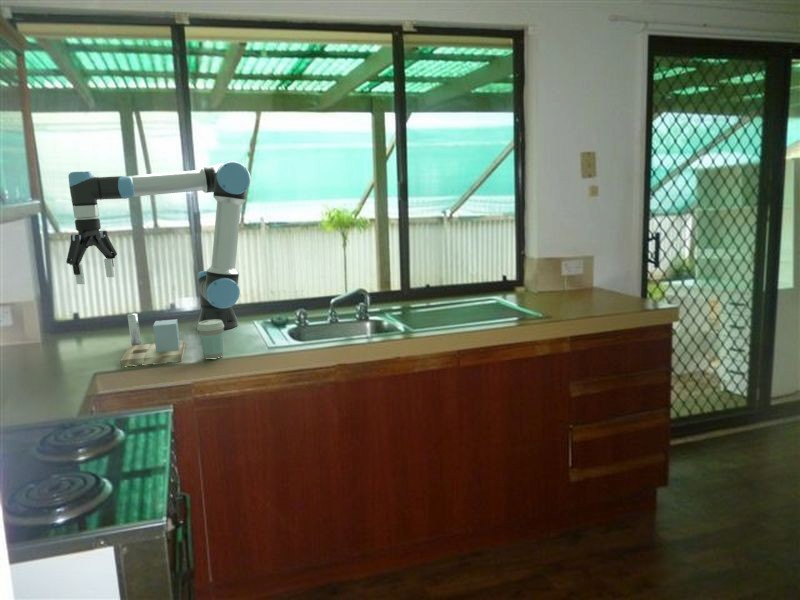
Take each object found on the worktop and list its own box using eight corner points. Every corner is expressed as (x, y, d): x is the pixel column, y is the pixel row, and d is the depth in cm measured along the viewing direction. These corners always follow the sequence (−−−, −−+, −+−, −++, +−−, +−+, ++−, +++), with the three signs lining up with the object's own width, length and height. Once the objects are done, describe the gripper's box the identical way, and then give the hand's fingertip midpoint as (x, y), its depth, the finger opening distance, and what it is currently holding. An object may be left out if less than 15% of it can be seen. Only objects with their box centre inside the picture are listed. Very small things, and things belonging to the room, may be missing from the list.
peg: (141, 345, 217) (137, 312, 215) (140, 347, 214) (136, 314, 212) (132, 346, 217) (128, 313, 214) (130, 348, 214) (126, 315, 211)
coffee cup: (217, 352, 205) (214, 317, 203) (232, 356, 200) (229, 320, 197) (195, 358, 198) (191, 323, 196) (209, 362, 193) (206, 326, 191)
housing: (180, 344, 206) (177, 319, 205) (178, 350, 200) (175, 323, 198) (158, 346, 205) (155, 321, 203) (156, 352, 198) (153, 325, 196)
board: (185, 347, 212) (182, 321, 211) (181, 361, 195) (178, 333, 194) (130, 352, 208) (126, 326, 206) (121, 367, 191) (117, 338, 189)
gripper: (105, 215, 216) (113, 274, 220) (47, 221, 192) (58, 287, 196) (122, 215, 213) (130, 274, 218) (66, 221, 190) (76, 287, 194)
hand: (96, 280), depth 207 cm, fingers open, 13 cm apart
